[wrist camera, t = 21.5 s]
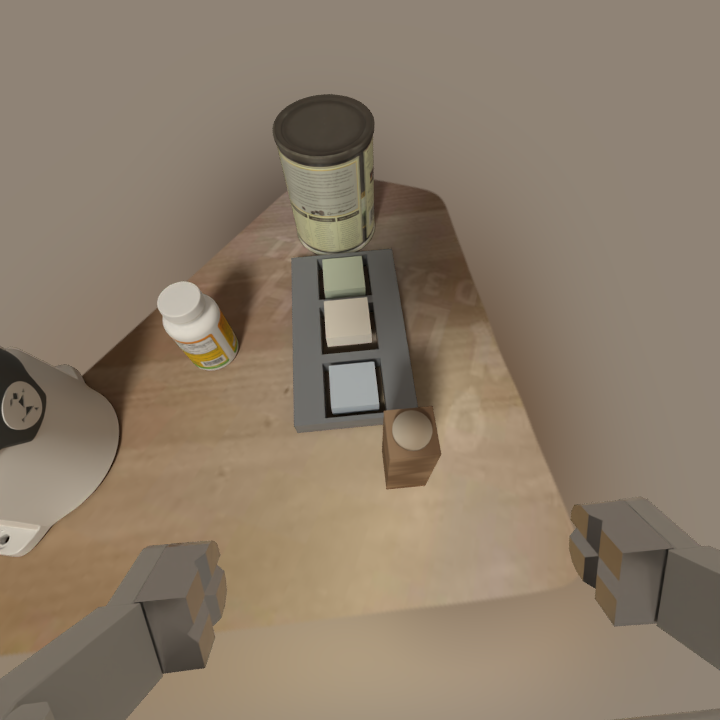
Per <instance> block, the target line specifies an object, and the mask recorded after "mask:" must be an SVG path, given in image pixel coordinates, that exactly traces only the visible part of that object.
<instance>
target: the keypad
mask: <svg viewBox="0 0 720 720" xmlns="http://www.w3.org/2000/svg"><path fill="white" fill-rule="evenodd" d="M354 256H362V264H363V266H368V274H369V282H370V290H371V295H367V296H356V297H346V298H335V299H325V300H320V282H319V270H323V263H322V260H323V259H333V258H344V257H354ZM291 259H292V324H293V389H294V427H295V429H296V431H297V433H301V432H311V431H322V430H332V429H342V428H352V427H363V426H373V425H383V418H384V413H375V414H364V415H354V416H344V417H334V418H327V410H326V392H325V373H324V372H327V371H329V366H333V365H343V364H353V363H364V362H374V364H375V367H379V366H380V369H381V377H382V385H383V393H384V401H385V409H386V410H396V409H407V408H417V407H418V405H417V399H416V393H415V387H414V381H413V375H412V369H411V363H410V357H409V351H408V345H407V338H406V332H405V326H404V320H403V314H402V308H401V302H400V296H399V290H398V284H397V278H396V272H395V266H394V260H393V254H392V249H383V250H373V251H362V252H351V253H341V254H330V255H319V256H309V257H298V258H291ZM363 297H367V300H368V309H369V313H373V314H374V322H375V330H376V338H377V346H378V349H376V350H366V351H355V352H345V353H334V354H324V355H323V337H322V319H321V317H325V313H324V301H332V300H342V299H353V298H363Z"/></svg>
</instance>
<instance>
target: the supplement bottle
mask: <svg viewBox="0 0 720 720" xmlns="http://www.w3.org/2000/svg"><path fill="white" fill-rule="evenodd" d="M157 306H158V309H159V311H160V312H161V314H162V315H163V325H164V328H165V330H166V332H167V333H168V334H169V335H170V337H171V338H172V339H173V340H174V341H175V342H176V343H177V345H178V346H179V347H180V348H181V349H182V350H183V352H184V353H185V354H186V355H187V356H188V357H189V358H190V360H191V361H192V362H193V363H194V364H195V365H196V366H197V367H199V368H201V369H204V370H218V369H221V368H223V367H225V366H227V365H228V364H229V363H231V362H232V360H233V359H234V358H235V356H236V354H237V352H238V340H237V337H236V336H235V334H234V332H233V330H232V329H231V327H230V325H229V324H228V322H227V320H226V319H225V317H224V315H223V313H222V312H221V310H220V308H219V307H218V305H217V304H216V302H215V301H214V300H213V299H212V298H211V297H209V296H207V295H205V294H202V292H201V291H200V290H199V288H198V287H197V286H196V285H195V284H193V283H190V282H177V283H174V284H171V285H170V286H168V287H166V288H165V289H164V290H163V291H162V292H161V294H160V295H159V297H158V301H157Z"/></svg>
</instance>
